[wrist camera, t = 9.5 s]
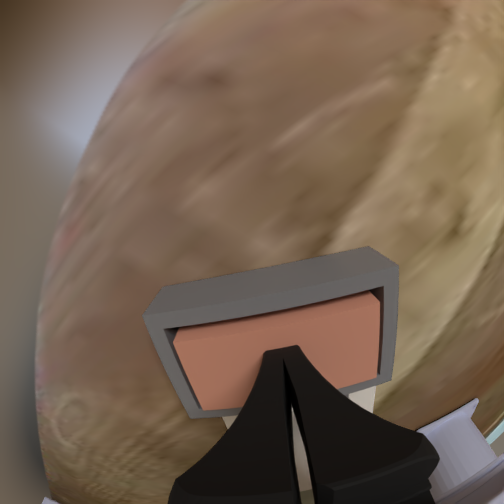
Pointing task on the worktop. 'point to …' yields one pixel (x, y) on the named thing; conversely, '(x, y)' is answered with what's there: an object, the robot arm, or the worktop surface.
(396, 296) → the button housing
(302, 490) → the marker
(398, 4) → the worktop surface
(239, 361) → the button
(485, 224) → the worktop surface
